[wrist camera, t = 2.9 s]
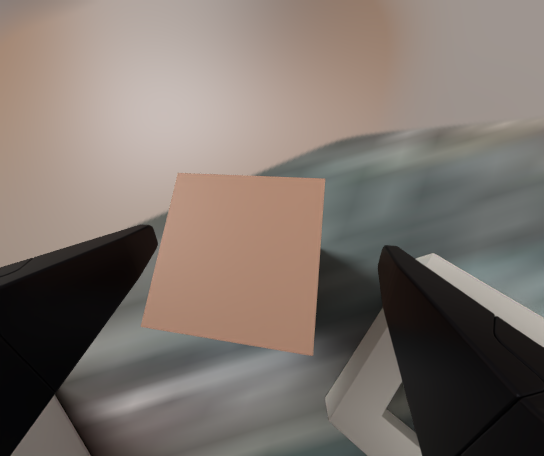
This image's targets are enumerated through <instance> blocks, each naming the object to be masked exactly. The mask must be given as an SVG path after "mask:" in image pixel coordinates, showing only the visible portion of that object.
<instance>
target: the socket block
mask: <svg viewBox="0 0 544 456" xmlns="http://www.w3.org/2000/svg"><path fill="white" fill-rule="evenodd" d="M416 260H418V261H419V262H420V263H422V264H423V265H425V266H426V267H428V268H429V269H431V270H432V271H433V272H435V273H436V274H438V275H439V276H441V277H442V278H443V279H445V280H446V281H448V282H449V283H451V284H452V285H454V286H455V287H456V288H458V289H459V290H461V291H462V292H464V293H465V294H466V295H468V296H469V297H471V298H472V299H474V300H475V301H477V302H478V303H479V304H481V305H482V306H484V307H485V308H487V309H488V310H490V311H491V312H492V313H494V314H495V316H498V317H500V318H501V319H503V320H504V321H505V322H507V323H508V324H510V325H511V326H513V327H514V328H516V329H517V330H519V331H520V332H521V333H523V334H524V335H526V336H527V337H529V338H530V339H532V340H533V341H535V342H536V343H538V344H539V345H541V346H542V347H544V318H543V317H541V316H540V315H538V314H536V313H534V312H533V311H531V310H529V309H528V308H526V307H524V306H523V305H521V304H519V303H518V302H516V301H514V300H512V299H511V298H509V297H507V296H506V295H504V294H502V293H501V292H499V291H497V290H495V289H494V288H492V287H490V286H489V285H487V284H485V283H484V282H482V281H480V280H478V279H477V278H475V277H473V276H472V275H470V274H468V273H467V272H465V271H463V270H461V269H460V268H458V267H456V266H455V265H453V264H451V263H450V262H448V261H446V260H444V259H443V258H441V257H439V256H438V255H436V254H434V253H432V254H429V255H426V256H422V257H419V258H416ZM401 383H402V378H401V375H400V371H399V367H398V363H397V360H396V356H395V352H394V348H393V345H392V341H391V337H390V333H389V330H388V326H387V322H386V318H385V314H384V310H383V308H382V309H381V311H380V312H379V314H378V316H377V317H376V319H375V320H374V322H373V323H372V325H371V327H370V328H369V330H368V331H367V333H366V334H365V336H364V338H363V339H362V341H361V342H360V344H359V345H358V347H357V349H356V350H355V352H354V353H353V355H352V356H351V358H350V360H349V361H348V363H347V364H346V366H345V367H344V369H343V371H342V372H341V374H340V375H339V377H338V378H337V380H336V382H335V383H334V385H333V386H332V388H331V389H330V391H329V393H328V394H327V396H326V397H325V401H326V408H327V414H328V420H329V422H330V423H332V424H333V425H334V426H335V427H336V428H337V429H338V430H339V431H340V432H342V433H343V434H344V435H345V436H346V437H347V438H348V439H349V440H350V441H352V442H353V443H354V444H355V445H356V446H357V447H358V448H359V449H360V450H362V451H363V452H364V453H365V454H366V455H367V456H422V454H421V450H420V446H419V442H418V439H417V435H416V433H415V432H414V431H413V430H412V429H410V428H409V427H408V426H407V425H406V424H404V423H403V422H402V421H401V420H399V419H398V418H397V417H396V416H395V415H393V414H392V413H391V412H390V411H388V410H387V409H386V408H387V406H388V404H389V403H390V401H391V399H392V398H393V396H394V394H395V393H396V391H397V389H398V388H399V386H400V384H401Z"/></svg>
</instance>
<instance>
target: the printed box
mask: <svg viewBox="0 0 544 456" xmlns="http://www.w3.org/2000/svg"><path fill="white" fill-rule="evenodd" d="M11 456H91V455H90V453H89V452H88V450H87V448H86V446H85V445H84V443H83V441H82V440H81V438H80V436H79V435H78V433H77V431H76V430H75V428H74V426H73V425H72V423H71V421H70V420H69V418H68V416H67V414H66V413H65V411H64V409H63V408H62V406H61V404H60V403H59V401H58V399H57V398H56V396H55V395H54V396H53V398H52V399H51V401H50V402H49V403H48V405H47V406H46V407H45V409H44V410H43V412H42V413H41V414H40V416H39V417H38V419H37V420H36V421H35V423H34V424H33V425H32V427H31V428H30V430H29V431H28V432H27V434H26V435H25V436H24V438H23V439H22V441H21V442H20V443H19V445H18V446H17V448H16V449H15V450H14V452H13V453H12V454H11Z"/></svg>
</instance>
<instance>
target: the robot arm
mask: <svg viewBox="0 0 544 456" xmlns="http://www.w3.org/2000/svg"><path fill="white" fill-rule="evenodd" d="M157 246H158V242H157V238H156V235H155V232H154V229H153V227H152V226H150V225H143V224H142V225H138V226H134V227H131V228H128V229H125V230H121V231H118V232H115V233H112V234H108V235H105V236H102V237H99V238H95V239H92V240H89V241H86V242H82V243H79V244H76V245H73V246H69V247H66V248H63V249H60V250H56V251H53V252H50V253H47V254H43V255H40V256H37V257H34V258H30V259H27V260H24V261H20V262H17V263H14V264H10V265H7V266H4V267H1V268H0V456H11V454H12V453H13V452H14V450H15V449H16V448H17V446H18V445H19V443H20V442H21V441H22V439H23V438H24V436H25V435H26V434H27V432H28V431H29V430H30V428H31V427H32V425H33V424H34V423H35V421H36V420H37V419H38V417H39V416H40V414H41V413H42V412H43V410H44V409H45V407H46V406H47V405H48V403H49V402H50V401H51V399H52V398H53V396H54V395H55V394H56V391H57V390H58V389H59V388H60V386H61V385H62V384H63V382H64V381H65V379H66V378H67V377H68V375H69V374H70V373H71V371H72V370H73V368H74V367H75V366H76V364H77V363H78V362H79V360H80V359H81V357H82V356H83V355H84V353H85V352H86V350H87V349H88V348H89V346H90V345H91V344H92V342H93V341H94V339H95V338H96V337H97V335H98V334H99V333H100V331H101V330H102V328H103V327H104V326H105V324H106V323H107V322H108V320H109V319H110V317H111V316H112V315H113V313H114V312H115V310H116V309H117V308H118V306H119V305H120V304H121V302H122V301H123V299H124V298H125V297H126V295H127V294H128V293H129V291H130V290H131V288H132V287H133V286H134V284H135V283H136V282H137V280H138V279H139V277H140V276H141V274H142V272H143V271H144V269H145V267H146V265H147V264H148V262H149V260H150V259H151V257H152V255H153V254H154V252H155V250H156V248H157ZM378 275H379V282H380V290H381V297H382V304H383V310H384V314H385V318H386V322H387V326H388V330H389V333H390V337H391V341H392V345H393V348H394V352H395V356H396V360H397V363H398V367H399V371H400V375H401V378H402V382H403V386H404V390H405V393H406V397H407V401H408V405H409V408H410V412H411V416H412V420H413V424H414V427H415V431H416V435H417V439H418V442H419V446H420V450H421V454H422V456H544V347H542V346H541V345H539V344H538V343H536V342H535V341H533V340H532V339H530V338H529V337H527V336H526V335H524V334H523V333H521V332H520V331H519V330H517V329H516V328H514V327H513V326H511V325H510V324H508V323H507V322H505V321H504V320H503V319H501V318H500V317H498V316H495V314H494V313H492V312H491V311H490V310H488V309H487V308H485V307H484V306H482V305H481V304H479V303H478V302H477V301H475V300H474V299H472V298H471V297H469V296H468V295H466V294H465V293H464V292H462V291H461V290H459V289H458V288H456V287H455V286H454V285H452V284H451V283H449V282H448V281H446V280H445V279H443V278H442V277H441V276H439V275H438V274H436V273H435V272H433V271H432V270H431V269H429V268H428V267H426V266H425V265H423V264H422V263H420V262H419V261H418V260H416V259H415V258H413V257H412V256H410V255H409V254H407V253H406V252H405V251H403V250H402V249H400V248H399V247H397V246H389V245H385V246H384V247H383V249H382V252H381V256H380V259H379V263H378Z"/></svg>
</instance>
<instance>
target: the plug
mask: <svg viewBox="0 0 544 456" xmlns="http://www.w3.org/2000/svg"><path fill="white" fill-rule="evenodd" d="M324 188H325V179H318V178H292V177H267V176H241V175H216V174H191V173H189V174H188V173H178V175H177V179H176V183H175V187H174V191H173V195H172V199H171V204H170V208H169V212H168V216H167V220H166V224H165V228H164V233H163V237H162V241H161V245H160V249H159V253H158V257H157V261H156V266H155V270H154V274H153V278H152V282H151V286H150V290H149V295H148V299H147V303H146V307H145V311H144V315H143V319H142V323H141V327H145V328H151V329H157V330H163V331H169V332H175V333H181V334H187V335H193V336H198V337H204V338H210V339H216V340H222V341H228V342H234V343H240V344H246V345H251V346H257V347H263V348H269V349H275V350H281V351H287V352H293V353H298V354H304V355H310V356H313V348H314V334H315V319H316V305H317V290H318V275H319V261H320V246H321V231H322V217H323V202H324Z"/></svg>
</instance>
